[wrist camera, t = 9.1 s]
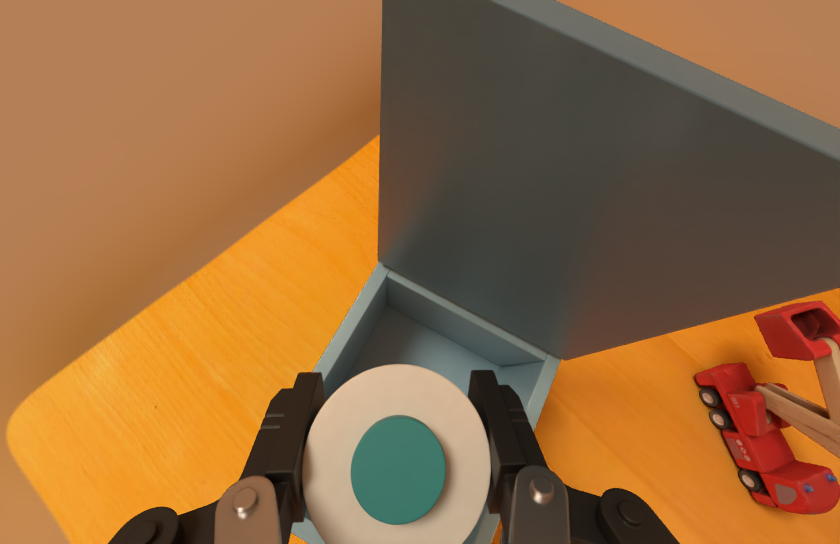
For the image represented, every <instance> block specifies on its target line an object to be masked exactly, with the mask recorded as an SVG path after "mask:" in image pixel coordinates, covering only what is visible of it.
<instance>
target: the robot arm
mask: <svg viewBox="0 0 840 544" xmlns="http://www.w3.org/2000/svg"><path fill="white" fill-rule="evenodd" d="M467 397H468V399H469V400H470V401H471V403H472V404H473V406H474V407H475V409H476V411H477V412H478V414H479V416H480V418H481V420H482V423H483V425H484V428H485V430H486V434H487V438H488V442H489V448H490V456H491V477H490V485H489V490H488V495H487V499H486V501H487V506H488V510H489V514H500V517H501V521H502V525H503V528H502V532H501V540H500V544H680V543H679V542H678V541H677V540H676V538H675V537H674V536H673V535H672V533H671V532H670V531H669V530H668V529H667V527H666V526H665V525H664V524H663V522H662V521H661V520H660V519H659V517H658V516H657V515H656V514H655V513H654V511H653V510H652V509H651V508H650V507H649V505H648V504H647V503H646V502H645V501H644V500H642V499H641V498H640V497H638V496H637V495H635V494H634V493H632V492H630V491H627V490H624V489H620V488H612V489H609V490H607V491H605V492H604V493H603V495H602V497H600V496H597V495H593V494H590V493H586V492H583V491H579V490H576V489H573V488H571V487H569V486H567V485H565V484H564V483H563V482H562V481H561V479H560V478H559V477H558V476H557V475H556V474H555V473H553V472H552V471H551V470H550V469H549V468H548V466H547V464H546V462H545V459H544V457H543V454H542V452H541V449H540V447H539V444H538V442H537V439H536V437H535V434H534V432H533V430H532V427H531V425H530V423H529V421H528V417H527V415H526V412H524V407H523V405H522V402H521V400H520V397H519V395H518V394H517V393H516V392H515V391H514V390H513V389H512V388H511V387H510V386H509V385H499V384H498V381H497V378H496V375H495V373H494V371H493V370H472V371H471V375H470V382H469V389H468V396H467ZM324 404H325V394H324V385H323V377H322V373H321V372H300V373H298V375H297V378H296V381H295V384H294V387H293V388H289V389H281V390H280V391H279V392H278V393H277V395H276V396H275V397H274V398H273V399H272V400H271V402H270V404H269V407H268V409H267V412H266V414H265V418H264V419H263V422H262V424H261V429H260V430H259V432H258V434H257V437H256V440H255V442H254V445H253V447H252V450H251V452H250V455H249V457H248V460H247V462H246V465H245V467H244V470H243V473H242V475H241V477H240V479H239V480H238V482H236V483H234V484H233V485H232V486H231V487H229V488H228V489H227V490H226V492H225V493H224V494H223V495H222V497H221V498H220V499H219V500H217V501H215V502H213V503H211V504H209V505H207V506H204V507H201V508H198V509H195V510H192V511H190V512H187V513H184V514H181V515H177V513H176V512H175V511H174V510H173V509H171V508H168V507H155V508H151V509H149V510H146V511H144V512H142V513H140V514H138V515H137V516H135V517H133V518H132V519H131V520H130V521H128V522H127V523H126V524H125V525H124V526H123V527H122V528H121V529H120V530H119V531H118V532H117V533H116V535H115V536H114V537H113V538H112V539H111V541H110V542H109V543H108V544H288V542H289V538H290V534H291V529H292V525H293V523H299V522H304V518H305V513H306V508H307V507H306V503H305V499H304V495H303V487H302V466H303V454H304V448H305V444H306V440H307V437H308V434H309V431H310V429H311V426H312V424H313V422H314V420H315V418H316V416H317V414H318V413H319V411H320V410H321V408H322V407H323V405H324Z"/></svg>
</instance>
